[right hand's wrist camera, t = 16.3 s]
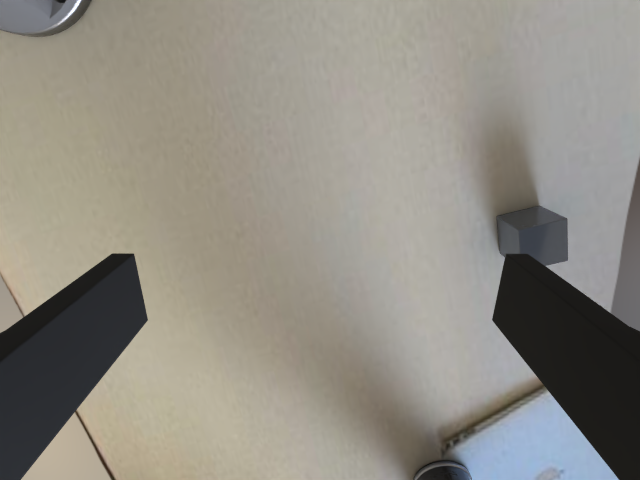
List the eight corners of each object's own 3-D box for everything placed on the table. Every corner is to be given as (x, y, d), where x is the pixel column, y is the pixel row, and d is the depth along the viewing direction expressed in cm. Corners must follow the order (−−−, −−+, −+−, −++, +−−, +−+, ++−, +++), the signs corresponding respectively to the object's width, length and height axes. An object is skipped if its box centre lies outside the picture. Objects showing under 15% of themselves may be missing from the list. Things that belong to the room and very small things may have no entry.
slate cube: (496, 215, 42) (518, 230, 37) (539, 205, 41) (567, 218, 37) (499, 253, 43) (521, 271, 39) (541, 243, 43) (568, 260, 38)
